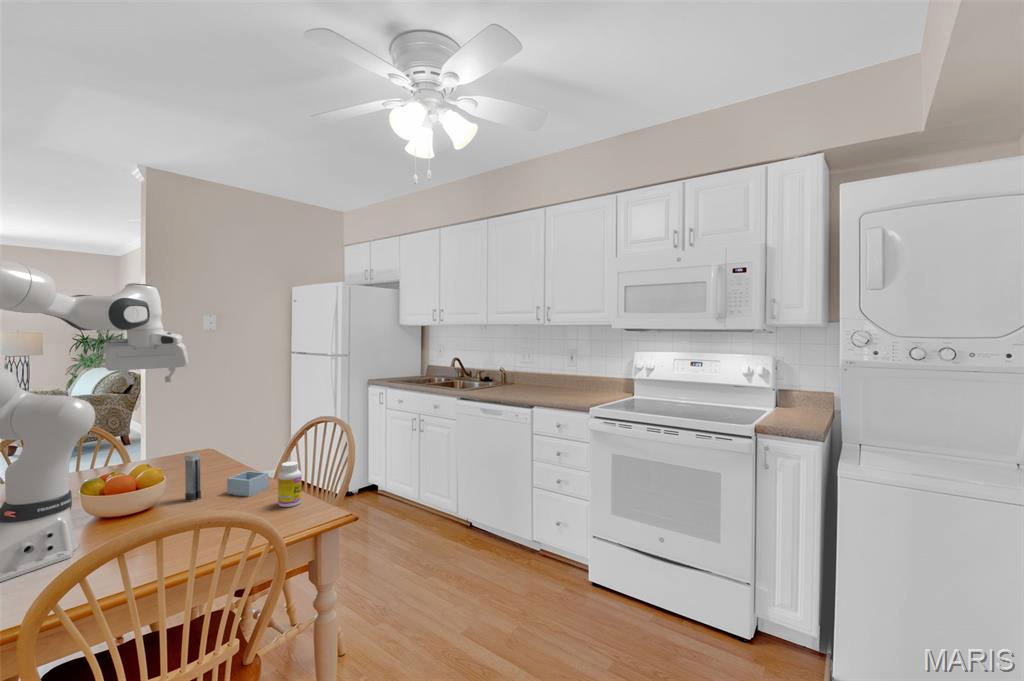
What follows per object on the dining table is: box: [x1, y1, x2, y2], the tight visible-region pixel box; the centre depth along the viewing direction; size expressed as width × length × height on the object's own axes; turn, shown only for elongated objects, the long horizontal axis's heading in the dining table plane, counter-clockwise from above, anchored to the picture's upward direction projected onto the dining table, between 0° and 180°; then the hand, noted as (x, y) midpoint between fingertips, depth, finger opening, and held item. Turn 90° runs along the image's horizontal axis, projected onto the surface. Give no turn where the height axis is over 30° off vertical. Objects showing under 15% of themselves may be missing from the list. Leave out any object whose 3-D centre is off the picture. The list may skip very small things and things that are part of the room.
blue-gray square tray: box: [226, 470, 269, 498], centre depth 163 cm, size 9×9×5 cm
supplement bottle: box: [277, 461, 302, 508], centre depth 152 cm, size 7×7×13 cm
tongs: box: [184, 452, 202, 501], centre depth 154 cm, size 3×3×14 cm
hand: (150, 383), depth 146 cm, fingers open, 8 cm apart
